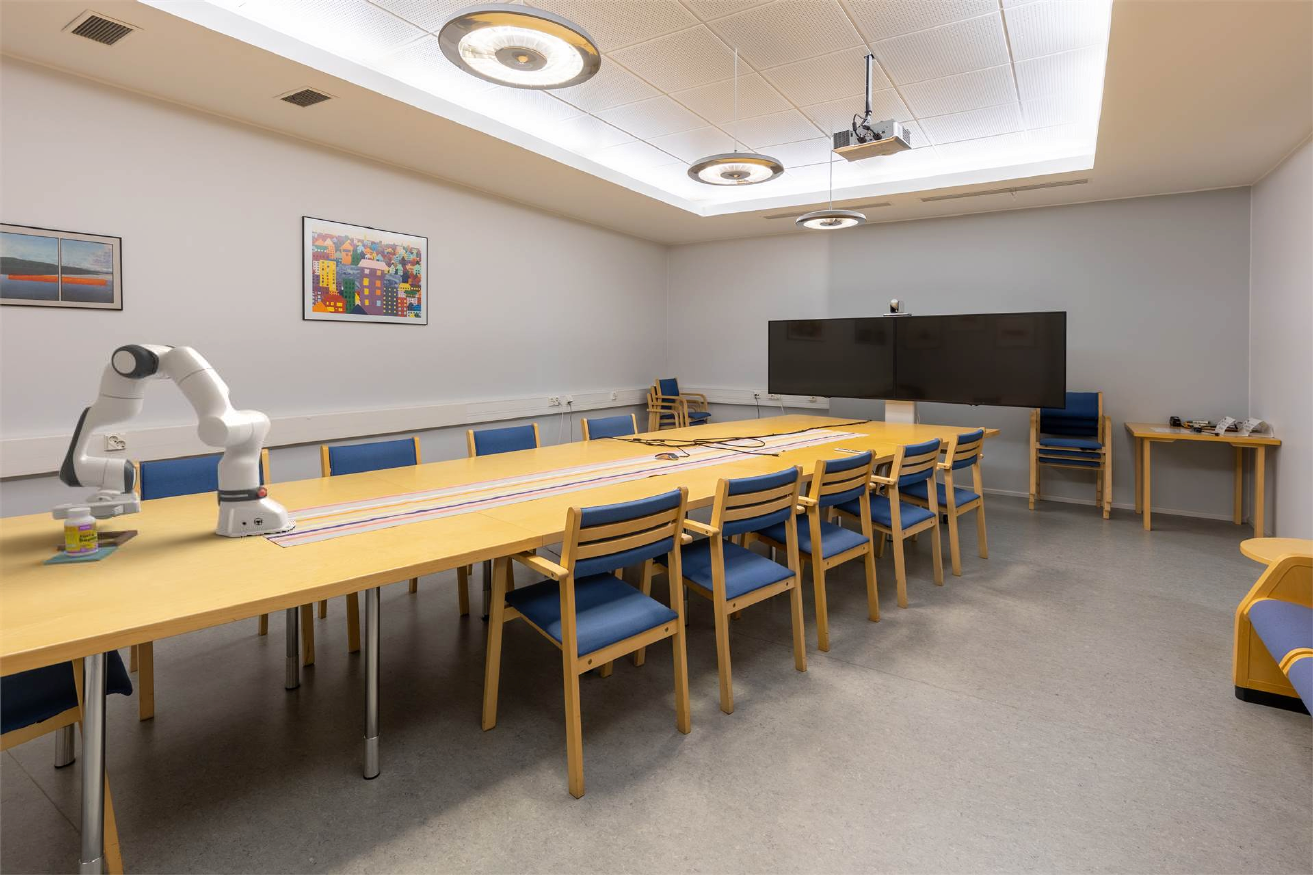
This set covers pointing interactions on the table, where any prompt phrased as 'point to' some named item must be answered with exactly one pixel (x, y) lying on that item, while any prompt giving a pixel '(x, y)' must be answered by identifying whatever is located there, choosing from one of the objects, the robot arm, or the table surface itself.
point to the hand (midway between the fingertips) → (91, 514)
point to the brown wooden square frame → (121, 537)
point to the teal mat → (93, 557)
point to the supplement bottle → (80, 533)
